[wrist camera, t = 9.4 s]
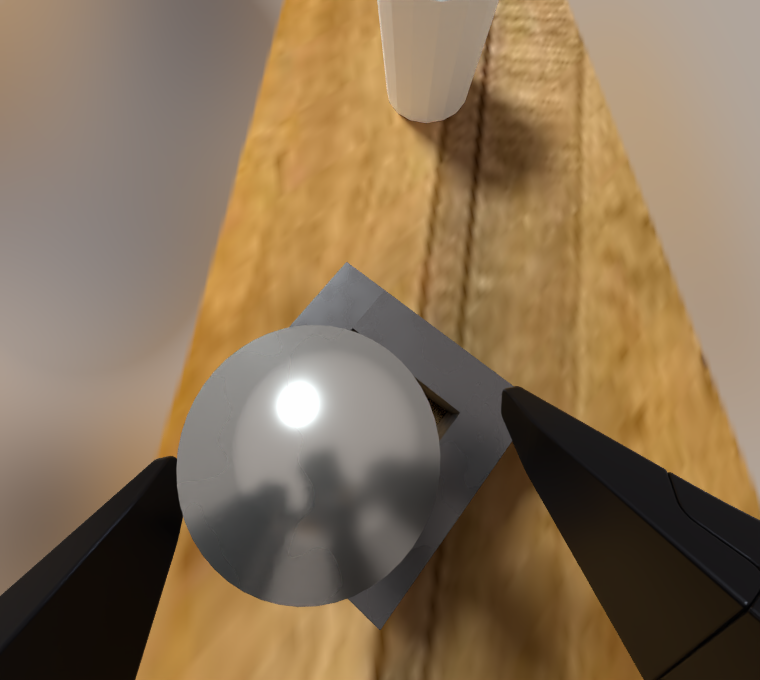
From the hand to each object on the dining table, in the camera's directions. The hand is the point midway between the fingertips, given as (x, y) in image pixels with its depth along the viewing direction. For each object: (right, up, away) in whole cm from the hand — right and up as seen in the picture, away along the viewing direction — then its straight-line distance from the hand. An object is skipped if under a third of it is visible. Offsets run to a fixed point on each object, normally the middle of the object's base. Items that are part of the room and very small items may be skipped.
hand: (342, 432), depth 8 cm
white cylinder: (+4, +20, +14) cm, 25 cm away
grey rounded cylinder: (0, -2, +9) cm, 9 cm away
